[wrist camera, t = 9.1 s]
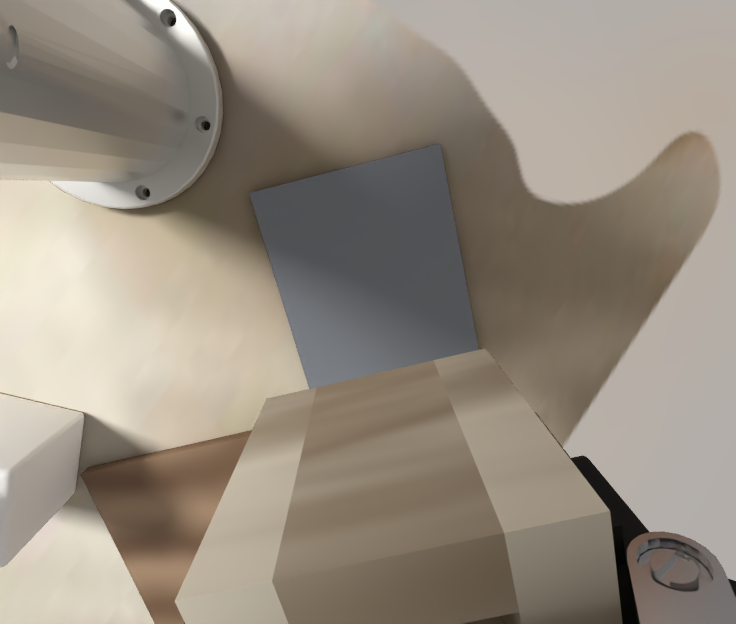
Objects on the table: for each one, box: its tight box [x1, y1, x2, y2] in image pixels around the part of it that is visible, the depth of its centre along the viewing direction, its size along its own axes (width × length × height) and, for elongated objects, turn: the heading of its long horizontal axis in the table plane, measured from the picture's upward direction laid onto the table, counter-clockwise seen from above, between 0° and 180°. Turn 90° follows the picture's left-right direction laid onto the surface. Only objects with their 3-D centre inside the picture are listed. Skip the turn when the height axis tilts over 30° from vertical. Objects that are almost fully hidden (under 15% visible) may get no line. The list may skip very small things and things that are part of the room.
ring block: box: [175, 348, 623, 624], centre depth 10 cm, size 6×6×6 cm
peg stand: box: [81, 430, 252, 624], centre depth 32 cm, size 16×16×5 cm
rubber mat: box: [249, 144, 479, 389], centre depth 29 cm, size 18×12×1 cm, turn 14°
